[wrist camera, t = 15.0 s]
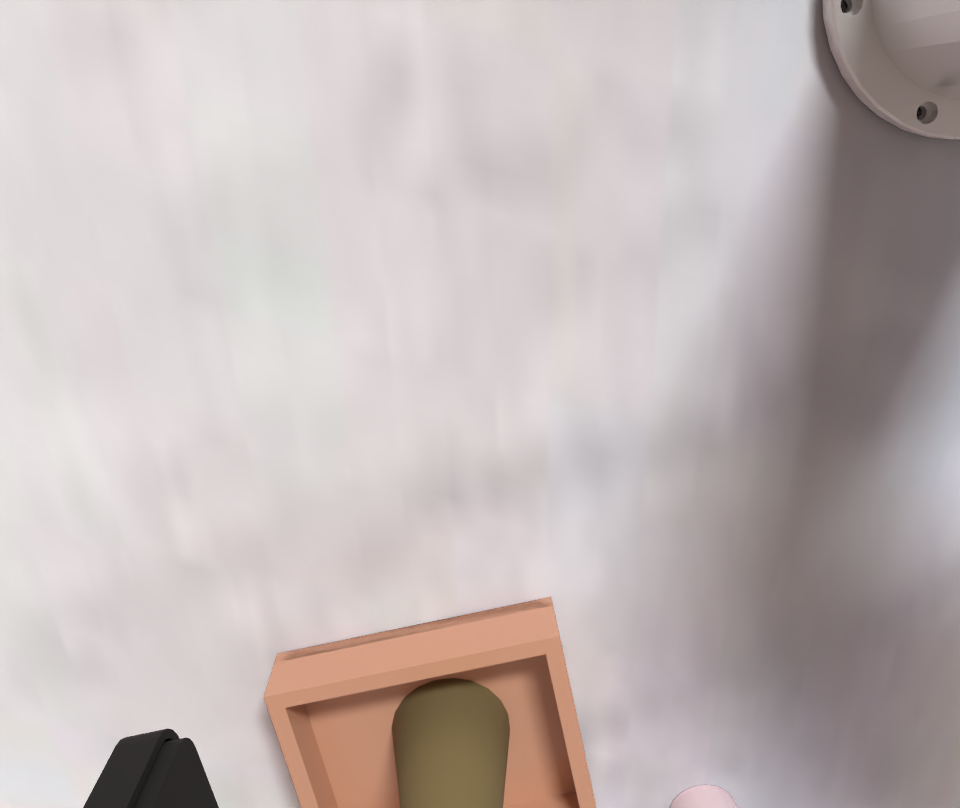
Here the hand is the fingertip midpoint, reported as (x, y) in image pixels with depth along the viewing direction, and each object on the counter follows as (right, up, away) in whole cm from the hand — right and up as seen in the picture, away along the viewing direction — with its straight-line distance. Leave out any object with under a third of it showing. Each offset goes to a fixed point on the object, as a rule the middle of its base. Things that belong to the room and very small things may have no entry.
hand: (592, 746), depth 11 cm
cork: (-3, -12, +35) cm, 37 cm away
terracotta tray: (-3, -13, +36) cm, 38 cm away
